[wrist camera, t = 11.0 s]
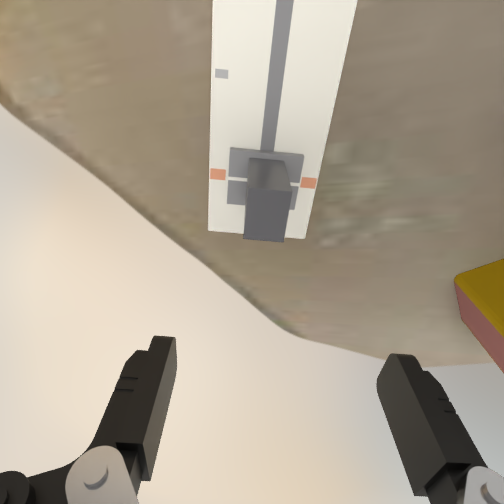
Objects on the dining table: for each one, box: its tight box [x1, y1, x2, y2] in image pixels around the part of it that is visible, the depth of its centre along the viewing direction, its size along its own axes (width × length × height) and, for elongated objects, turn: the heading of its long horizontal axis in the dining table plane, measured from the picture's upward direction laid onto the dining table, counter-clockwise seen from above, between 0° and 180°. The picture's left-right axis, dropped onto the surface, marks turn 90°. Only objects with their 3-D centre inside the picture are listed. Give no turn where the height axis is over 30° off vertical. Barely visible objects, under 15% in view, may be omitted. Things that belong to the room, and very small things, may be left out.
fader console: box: [208, 0, 357, 239], centre depth 25 cm, size 10×28×3 cm, turn 174°
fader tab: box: [227, 147, 304, 242], centre depth 25 cm, size 6×5×8 cm
